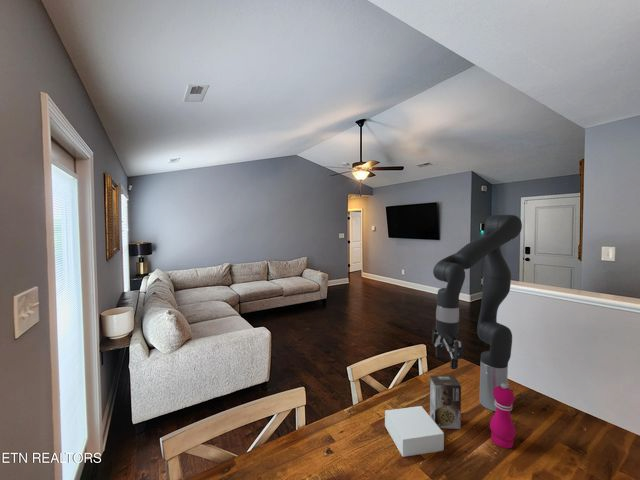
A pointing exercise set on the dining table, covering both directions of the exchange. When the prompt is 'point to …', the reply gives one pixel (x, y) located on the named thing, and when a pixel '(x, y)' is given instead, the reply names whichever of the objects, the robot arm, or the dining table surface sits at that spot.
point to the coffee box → (445, 401)
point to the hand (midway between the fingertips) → (446, 362)
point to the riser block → (414, 431)
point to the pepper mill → (502, 417)
